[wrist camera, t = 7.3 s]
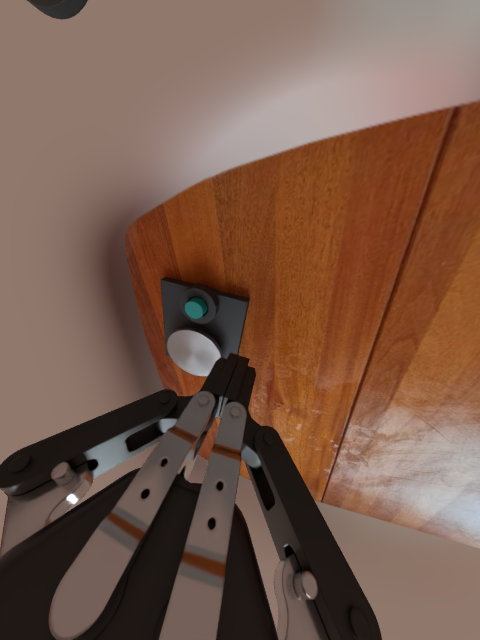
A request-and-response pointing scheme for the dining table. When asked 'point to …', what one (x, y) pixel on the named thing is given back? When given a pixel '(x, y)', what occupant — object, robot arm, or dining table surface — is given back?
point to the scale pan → (193, 351)
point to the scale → (217, 321)
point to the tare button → (196, 307)
